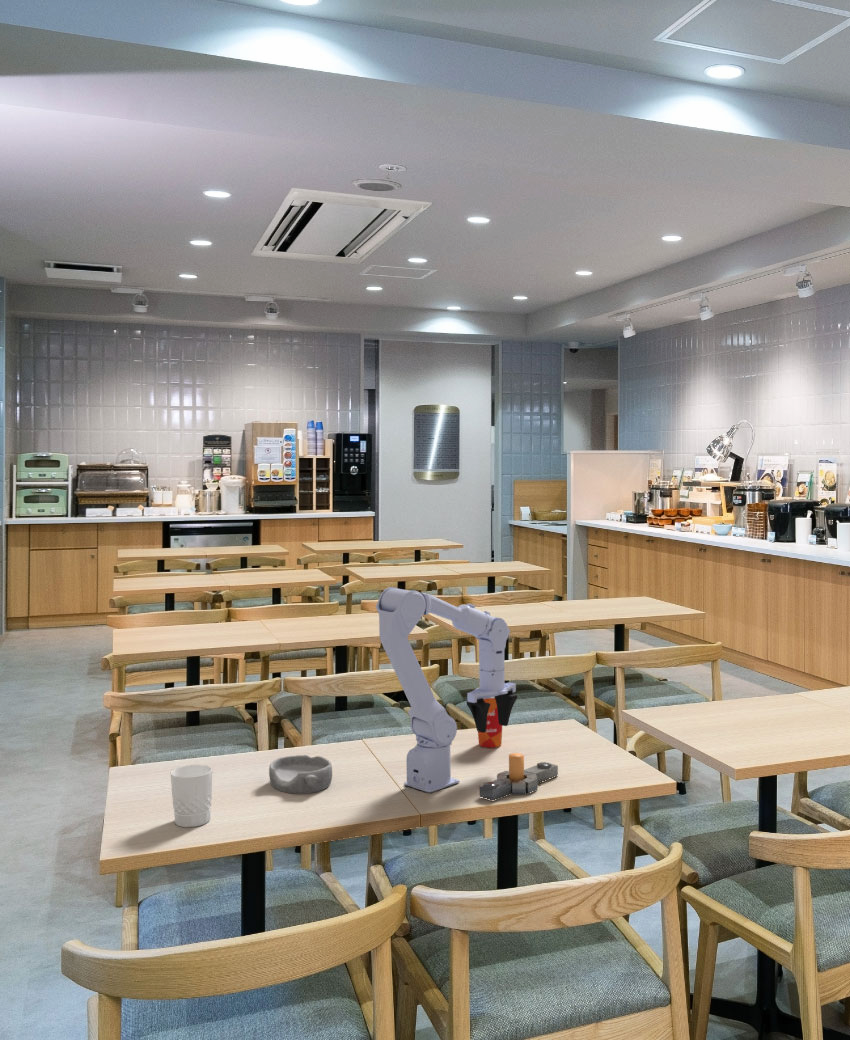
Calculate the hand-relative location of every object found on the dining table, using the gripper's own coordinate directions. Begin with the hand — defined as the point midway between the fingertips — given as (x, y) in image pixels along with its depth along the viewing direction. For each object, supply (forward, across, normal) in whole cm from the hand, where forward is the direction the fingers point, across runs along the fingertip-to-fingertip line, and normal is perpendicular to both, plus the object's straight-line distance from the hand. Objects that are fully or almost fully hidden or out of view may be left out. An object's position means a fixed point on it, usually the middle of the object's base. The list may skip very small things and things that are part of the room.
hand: (492, 728), depth 207 cm
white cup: (+10, -64, +22) cm, 68 cm away
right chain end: (+9, -2, -12) cm, 15 cm away
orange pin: (+9, -6, -12) cm, 16 cm away
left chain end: (+9, -9, -12) cm, 18 cm away
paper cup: (+10, +14, +13) cm, 21 cm away
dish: (+10, -36, +24) cm, 44 cm away
